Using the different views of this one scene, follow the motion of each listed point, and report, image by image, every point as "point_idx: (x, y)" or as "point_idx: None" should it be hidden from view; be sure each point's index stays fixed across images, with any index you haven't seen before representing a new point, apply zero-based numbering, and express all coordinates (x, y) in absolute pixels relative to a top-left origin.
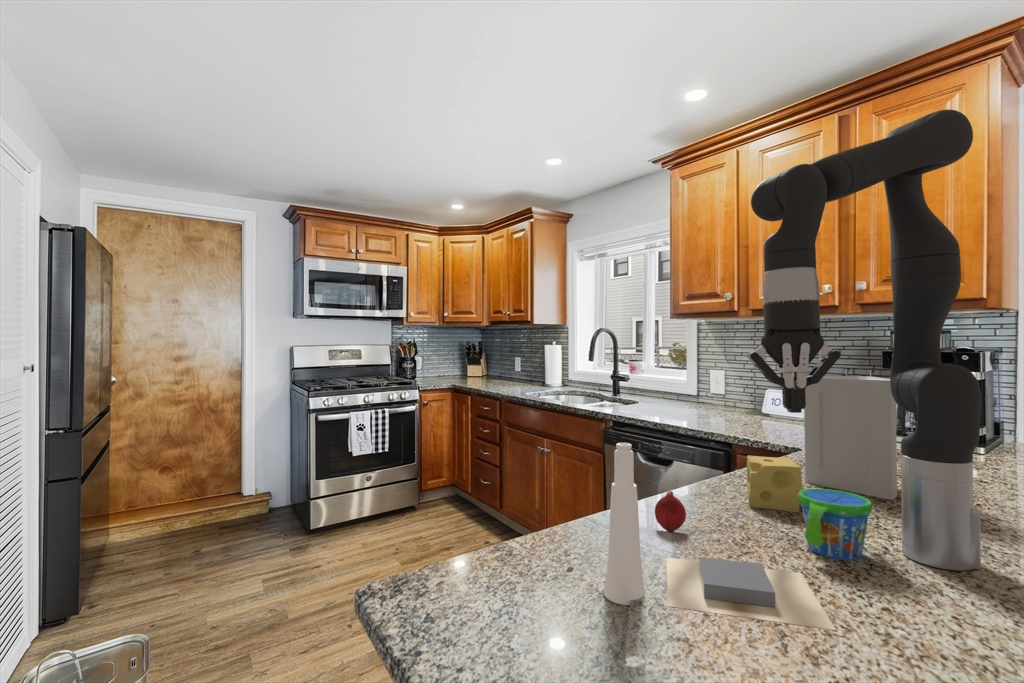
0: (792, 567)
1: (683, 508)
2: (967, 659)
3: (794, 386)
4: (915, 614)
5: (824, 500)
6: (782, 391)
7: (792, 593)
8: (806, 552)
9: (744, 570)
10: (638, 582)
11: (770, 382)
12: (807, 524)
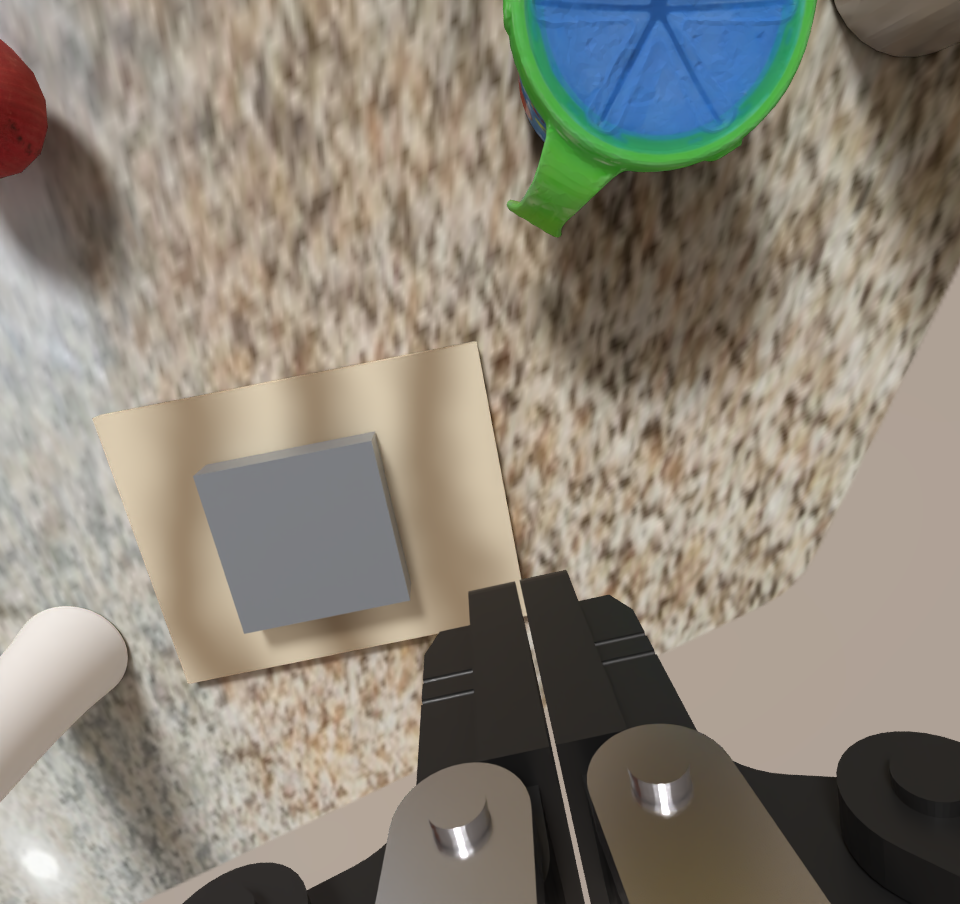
0: (457, 267)
1: (7, 104)
2: (740, 575)
3: (594, 827)
4: (710, 426)
5: (617, 22)
6: (420, 773)
7: (450, 488)
8: (508, 99)
9: (329, 509)
10: (94, 699)
11: (214, 888)
12: (519, 210)
